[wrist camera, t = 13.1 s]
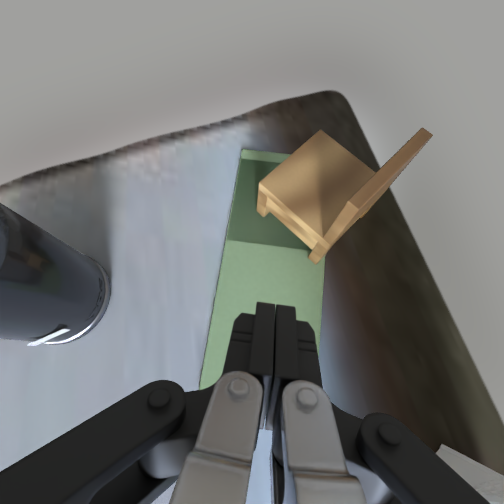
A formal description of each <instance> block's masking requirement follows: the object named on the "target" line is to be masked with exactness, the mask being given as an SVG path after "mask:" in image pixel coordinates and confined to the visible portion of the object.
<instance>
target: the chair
mask: <svg viewBox="0 0 504 504" xmlns="http://www.w3.org/2000/svg"><path fill="white" fill-rule="evenodd" d="M432 136H433V135H432V134H431V133H429V132H428V131H427V130H425V129H424V128H421V129H420V130H419V131H418V132H417V133H416V134H415V135H414V136H413V137H412V138H411V139H410V140H409V141H408V142H407V143H406V144H405V145H404V146H403V147H402V148H401V149H400V150H399V151H398V152H397V153H396V154H395V155H394V156H393V157H392V158H391V159H390V160H388V162H386V163H385V164H384V165H383V166H382V167H381V168H380V169H379V170H378V171H377V172H376V173H375V172H374V171H373V170H372V169H370V168H369V167H368V166H366V165H365V164H364V163H363V162H361V161H360V160H359V159H358V158H356V157H355V156H354V155H352V154H351V153H350V152H349V151H347V150H346V149H345V148H344V147H342V146H341V145H340V144H338V143H337V142H336V141H335V140H333V139H332V138H331V137H330V136H328V135H327V134H326V133H324V132H323V131H322V130H319V131H318V132H317V133H316V134H315V135H313V136H312V137H311V138H310V139H309V140H308V141H307V142H305V143H304V144H303V145H302V146H301V147H300V148H298V149H297V150H296V151H295V152H294V153H293V154H291V155H290V156H289V157H288V158H287V159H286V160H284V161H283V162H282V163H281V164H280V165H279V166H278V167H276V168H275V169H274V170H273V171H272V172H271V173H269V174H268V175H267V176H266V177H265V178H264V179H262V180H261V181H260V182H259V188H258V199H257V209H256V211H257V212H258V213H259V214H260V215H261V216H263V217H265V216H266V215H267V214H268V213H269V212H271V213H272V214H273V215H274V216H275V217H276V218H277V219H279V220H280V221H281V222H282V223H283V224H284V225H285V226H286V227H287V228H289V229H290V230H291V231H292V232H293V233H294V234H295V235H296V236H297V237H299V238H300V239H301V240H302V241H303V242H304V243H305V244H306V245H307V246H309V247H310V248H311V249H312V252H311V253H310V255H309V256H308V258H309V259H310V260H311V261H312V262H313V263H314V264H315V265H316V264H317V263H318V262H319V261H320V260H321V259H322V258H323V257H324V256H325V255H326V253H327V252H328V251H329V250H330V248H331V247H332V246H333V244H334V243H335V242H336V241H337V240H338V239H339V238H340V237H341V236H342V235H343V234H344V233H345V232H346V231H347V230H348V229H349V228H350V227H351V226H352V225H353V224H354V223H355V222H356V221H357V220H358V219H359V218H362V217H363V216H364V215H365V214H366V213H367V212H368V211H369V210H370V209H371V207H372V206H373V205H374V204H375V203H376V202H377V200H378V199H379V198H380V197H381V196H382V194H383V193H384V192H385V191H386V190H387V189H388V187H389V186H390V185H391V184H392V182H394V180H395V179H396V178H397V177H398V176H399V175H400V173H401V172H402V171H403V170H404V168H406V166H407V165H408V164H409V163H410V162H411V160H412V159H413V158H414V157H415V156H416V154H417V153H418V152H419V151H420V150H421V149H422V148H423V146H424V145H425V144H426V143H427V142H428V141H429V139H430V138H431V137H432Z"/></svg>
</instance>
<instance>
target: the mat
mask: <svg viewBox="0 0 504 504" xmlns="http://www.w3.org/2000/svg"><path fill="white" fill-rule="evenodd" d="M289 156H290V154H282V153H273V152H264V151H255V150H246V149H242V153H241V158H240V164H239V169H238V175H237V180H236V186H235V192H234V197H233V203H232V208H231V214H230V219H229V225H228V230H227V236H226V242H225V247H224V253H223V258H222V264H221V269H220V275H219V280H218V286H217V292H216V297H215V303H214V308H213V314H212V319H211V325H210V330H209V336H208V342H207V347H206V353H205V358H204V364H203V369H202V375H201V380H200V386H199V390H202V389H205V388H208V387H210V386H212V385H213V384H214V383H216V382H217V380H218V379H219V378H220V376H221V375H222V372H223V367H224V363H225V359H226V354H227V350H228V345H229V341H230V336H231V332H232V328H233V323H234V320H235V319H236V318H237V317H238V316H239V315H240V314H241V313H248V314H255V311H256V304H257V302H265V303H272V304H275V309H276V304H280V305H287V306H294V307H295V308H296V320H299V321H307V322H308V323H309V324H310V326H311V327H312V328H313V330H314V331H315V338H316V345H317V353H318V358H319V343H320V328H321V313H322V298H323V283H324V268H325V256H324V257H323V258H322V259H321V260H320V261H319V262H318V263H317V264H316V265H315V264H314V263H313V262H312V261H311V260H310V259H309V258H308V256H309V255H310V253H311V252H312V249H311V248H310V247H309V246H307V245H306V244H305V243H304V242H303V241H302V240H301V239H300V238H299V237H297V236H296V235H295V234H294V233H293V232H292V231H291V230H290V229H289V228H287V227H286V226H285V225H284V224H283V223H282V222H281V221H280V220H279V219H277V218H276V217H275V216H274V215H273V214H272V213H271V212H269V213H268V214H267V215H266V216H265V217H263V216H261V215H260V214H259V213H258V212H257V211H256V209H257V199H258V188H259V182H260V181H261V180H262V179H264V178H265V177H266V176H267V175H268V174H269V173H271V172H272V171H273V170H274V169H275V168H276V167H278V166H279V165H280V164H281V163H282V162H283V161H284V160H286V159H287V158H288V157H289Z"/></svg>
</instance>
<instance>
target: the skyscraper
mask: <svg viewBox="0 0 504 504" xmlns="http://www.w3.org/2000/svg"><path fill="white" fill-rule="evenodd" d="M436 454H437V455H438V456H439V457H440V458H441V459H442V460H443V461H444V462H445V463H447V464H448V465H449V466H450V467H451V468H452V469H453V470H454V471H455V472H456V473H458V474H459V475H460V476H461V477H462V478H463V479H464V480H465V481H466V482H467V483H468V484H470V485H471V486H472V487H473V488H474V489H475V490H476V491H477V492H478V493H479V494H481V495H482V496H483V497H484V498H485V499H486V500H487V501H488V502H489V503H490V504H504V476H503V475H501V474H499V473H497V472H495V471H493V470H491V469H489V468H487V467H486V466H484V465H482V464H480V463H478V462H476V461H474V460H472V459H470V458H468V457H467V456H465V455H463V454H461V453H459V452H457V451H455V450H453V449H451V448H449V447H447V446H445V445H443V444H441V446H440V449H439V450H438V451H437V452H436Z"/></svg>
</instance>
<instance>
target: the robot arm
mask: <svg viewBox="0 0 504 504" xmlns="http://www.w3.org/2000/svg"><path fill="white" fill-rule="evenodd" d="M109 300H110V282H109V278H108V276H107V274H106V272H105V270H104V269H103V267H102V266H101V265H100V264H99V263H98V262H96V261H95V260H93V259H92V258H90V257H88V256H86V255H84V254H82V253H80V252H78V251H77V250H76V249H74V248H72V247H71V246H69V245H67V244H66V243H64V242H63V241H61V240H59V239H58V238H56V237H55V236H53V235H51V234H50V233H48V232H46V231H45V230H43V229H42V228H40V227H38V226H37V225H35V224H33V223H32V222H30V221H29V220H27V219H25V218H24V217H22V216H21V215H19V214H17V213H16V212H14V211H12V210H11V209H9V208H8V207H6V206H4V205H3V204H1V203H0V339H9V340H21V341H31V342H32V343H30V344H28V345H32V346H35V345H38V344H40V343H43V344H64V343H69V342H72V341H74V340H77V339H79V338H81V337H82V336H84V335H86V334H87V333H88V332H90V331H91V330H92V329H93V328H94V327H95V326H96V325H97V324H98V322H99V321H100V320H101V318H102V317H103V315H104V313H105V311H106V309H107V307H108V304H109ZM265 416H266V423H265V430H272V431H273V434H272V447H271V452H270V476H271V503H272V504H490V503H489V502H488V501H487V500H486V499H485V498H484V497H483V496H482V495H481V494H479V493H478V492H477V491H476V490H475V489H474V488H473V487H472V486H471V485H470V484H468V483H467V482H466V481H465V480H464V479H463V478H462V477H461V476H460V475H459V474H458V473H456V472H455V471H454V470H453V469H452V468H451V467H450V466H449V465H448V464H447V463H445V462H444V461H443V460H442V459H441V458H440V457H439V456H438V455H437V454H436V453H434V452H433V451H432V450H431V449H430V448H429V447H428V446H427V445H426V444H425V443H424V442H422V441H421V440H420V439H419V438H418V437H417V436H416V435H415V434H414V433H413V432H411V431H410V430H409V429H408V428H407V427H406V426H405V425H404V424H403V423H401V422H400V421H399V420H397V419H396V418H394V417H392V416H390V415H387V414H384V413H370V414H368V415H366V416H365V417H364V418H363V420H362V419H360V418H358V417H356V416H353V415H351V414H349V413H347V412H345V411H343V410H341V409H339V408H338V407H336V406H335V405H334V404H333V403H332V402H331V401H330V398H329V397H328V395H327V393H326V392H325V391H324V390H323V386H322V380H321V373H320V366H319V359H318V353H317V345H316V338H315V331H314V330H313V328H312V327H311V326H310V324H309V323H308V322H307V321H299V320H296V308H295V307H294V306H287V305H280V304H276V309H275V304H272V303H265V302H257V304H256V311H255V314H248V313H241V314H240V315H239V316H238V317H237V318H236V319H235V320H234V323H233V328H232V332H231V336H230V341H229V345H228V350H227V354H226V359H225V363H224V367H223V372H222V375H221V376H220V378H219V379H218V380H217V382H216V383H214V384H213V385H212V386H210V387H208V388H205V389H202V390H197V391H190V392H184V390H183V389H182V387H181V386H180V385H178V384H177V383H175V382H172V381H168V380H158V381H154V382H151V383H149V384H147V385H145V386H143V387H142V388H140V389H138V390H137V391H135V392H133V393H132V394H130V395H128V396H127V397H125V398H123V399H122V400H120V401H118V402H117V403H115V404H113V405H111V406H110V407H108V408H106V409H105V410H103V411H101V412H100V413H98V414H96V415H95V416H93V417H91V418H90V419H88V420H86V421H85V422H83V423H81V424H80V425H78V426H76V427H75V428H73V429H71V430H70V431H68V432H66V433H65V434H63V435H61V436H60V437H58V438H56V439H55V440H53V441H51V442H50V443H48V444H46V445H45V446H43V447H41V448H40V449H38V450H36V451H34V452H33V453H31V454H29V455H28V456H26V457H24V458H23V459H21V460H19V461H18V462H16V463H14V464H13V465H11V466H9V467H8V468H6V469H4V470H3V471H1V472H0V504H151V503H152V502H153V501H154V500H155V499H156V498H157V497H159V496H160V495H161V494H162V493H163V492H164V491H165V490H166V489H168V488H169V487H170V486H171V485H172V484H173V483H174V482H175V481H176V480H177V482H176V485H175V488H174V491H173V494H172V496H171V499H170V502H169V504H245V502H246V496H247V490H248V484H249V477H250V471H251V465H252V458H253V452H254V451H255V448H256V444H257V438H258V433H259V429H263V427H264V421H265Z"/></svg>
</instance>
